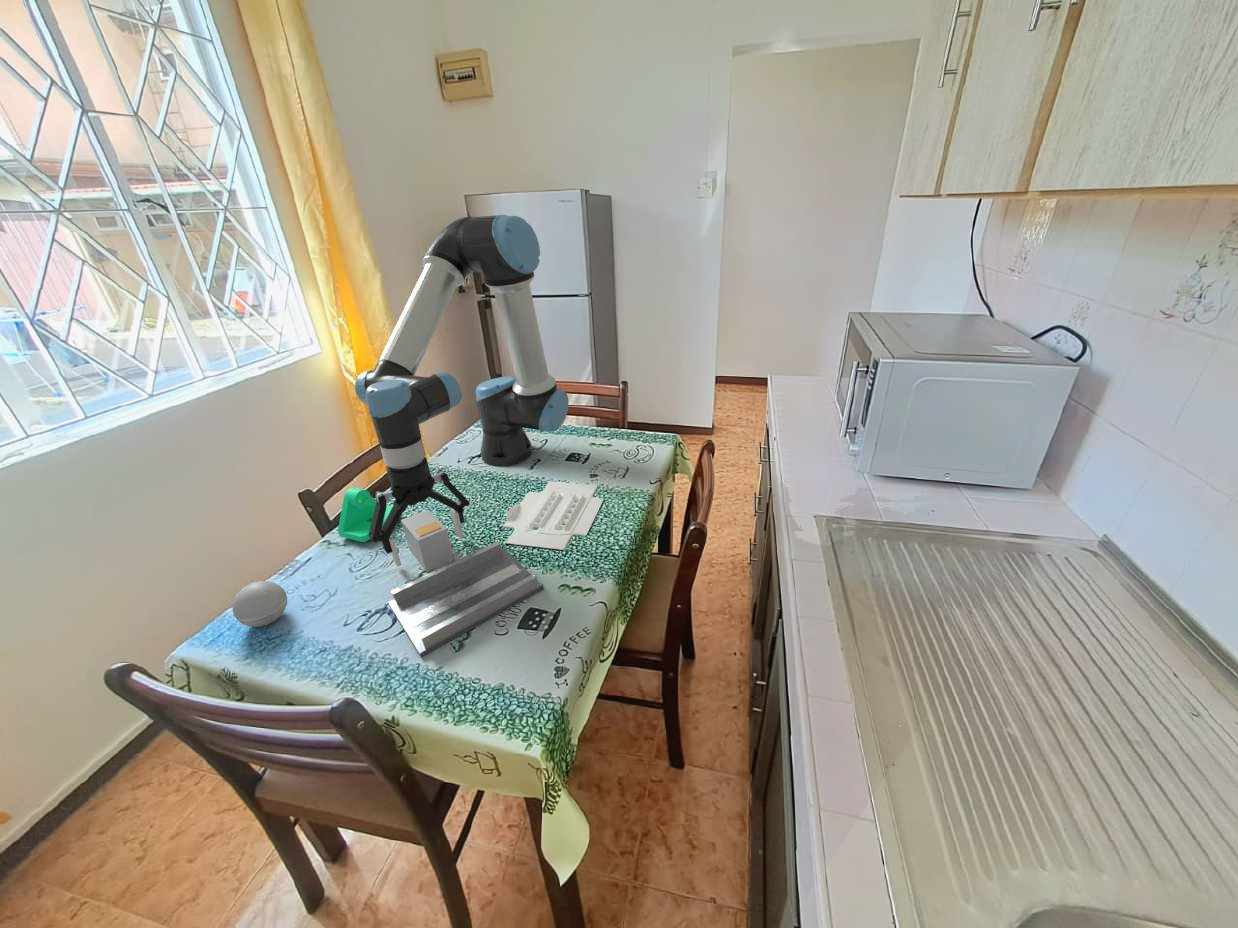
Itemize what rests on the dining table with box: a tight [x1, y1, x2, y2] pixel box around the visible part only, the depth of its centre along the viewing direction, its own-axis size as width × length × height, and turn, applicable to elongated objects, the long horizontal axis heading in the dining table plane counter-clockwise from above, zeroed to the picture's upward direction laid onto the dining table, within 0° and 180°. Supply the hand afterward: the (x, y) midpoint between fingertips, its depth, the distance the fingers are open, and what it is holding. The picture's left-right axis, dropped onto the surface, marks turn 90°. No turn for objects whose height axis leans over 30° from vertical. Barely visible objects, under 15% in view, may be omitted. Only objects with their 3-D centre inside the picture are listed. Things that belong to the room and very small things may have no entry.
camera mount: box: [337, 487, 403, 543], centre depth 113 cm, size 12×8×10 cm, turn 159°
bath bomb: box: [232, 580, 288, 628], centre depth 88 cm, size 8×8×8 cm
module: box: [400, 509, 455, 573], centre depth 103 cm, size 6×10×8 cm, turn 40°
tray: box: [502, 481, 605, 551], centre depth 118 cm, size 20×28×4 cm
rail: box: [388, 541, 545, 658], centre depth 92 cm, size 24×16×3 cm, turn 130°
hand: (429, 548), depth 104 cm, fingers open, 13 cm apart
